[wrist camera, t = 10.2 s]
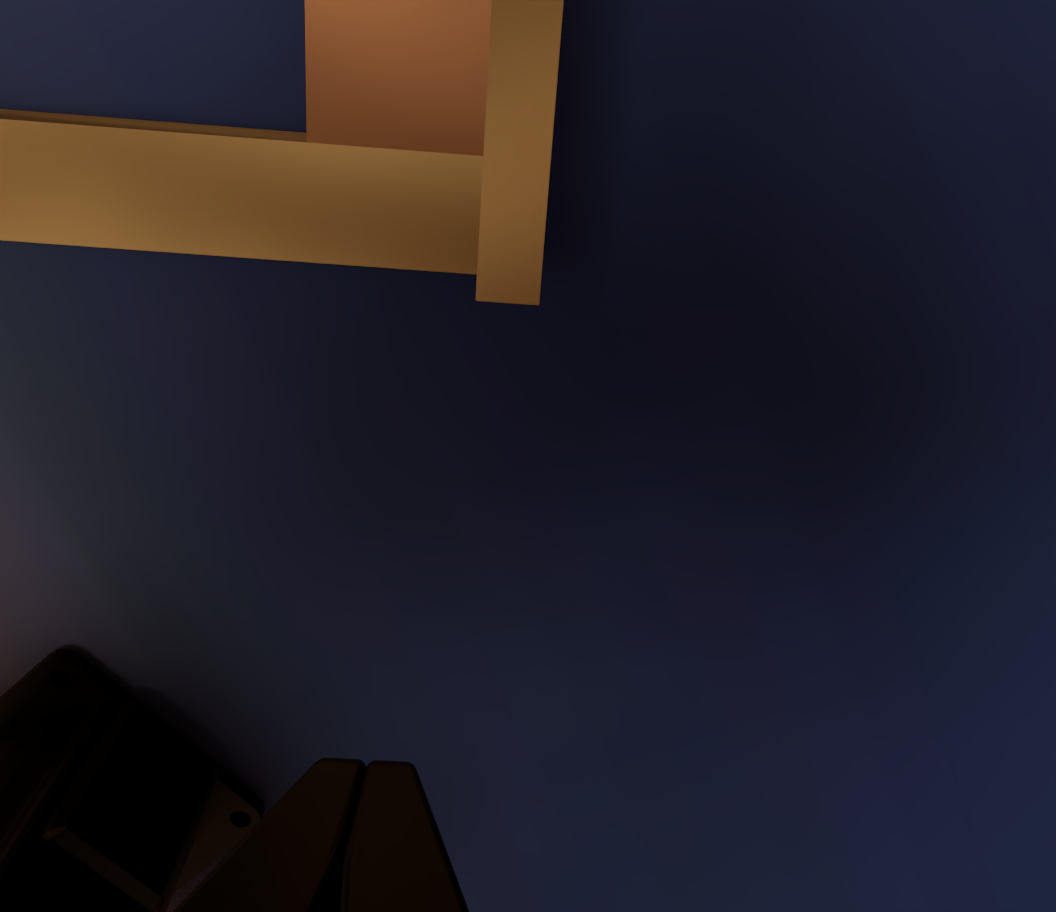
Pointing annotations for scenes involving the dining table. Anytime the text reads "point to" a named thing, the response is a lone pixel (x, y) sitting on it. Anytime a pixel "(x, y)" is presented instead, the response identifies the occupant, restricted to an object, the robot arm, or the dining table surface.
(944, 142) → the dining table surface
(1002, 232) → the dining table surface
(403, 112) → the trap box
